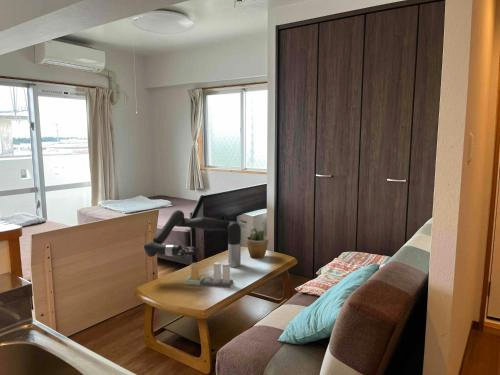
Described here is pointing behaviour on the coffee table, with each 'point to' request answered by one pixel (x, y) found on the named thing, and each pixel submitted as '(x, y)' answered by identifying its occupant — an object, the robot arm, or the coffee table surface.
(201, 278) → the tray
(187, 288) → the coffee table surface
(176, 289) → the coffee table surface
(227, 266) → the end white fuse
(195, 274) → the block
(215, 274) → the block
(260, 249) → the potted plant
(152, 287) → the coffee table surface
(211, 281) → the fuse block
